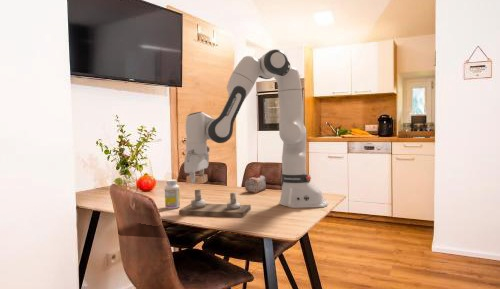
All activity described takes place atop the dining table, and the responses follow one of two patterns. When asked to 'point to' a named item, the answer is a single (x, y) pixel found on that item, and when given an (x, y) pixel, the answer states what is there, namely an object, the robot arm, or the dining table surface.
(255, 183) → the food item
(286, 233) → the dining table surface
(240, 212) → the board
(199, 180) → the tan faceted disc
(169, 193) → the supplement bottle
